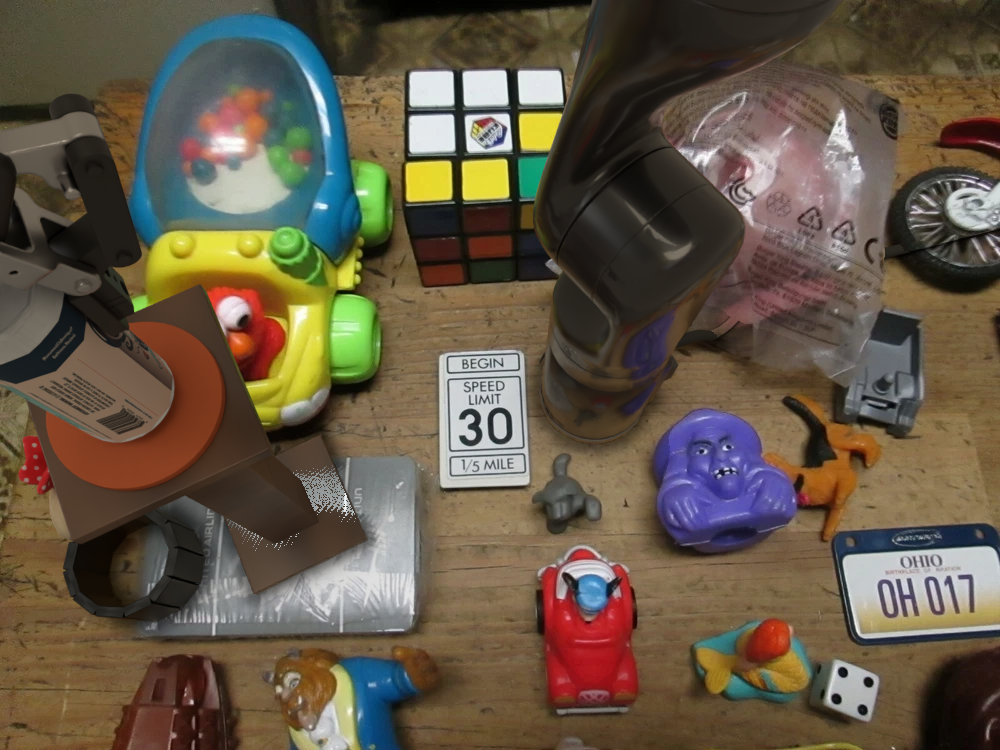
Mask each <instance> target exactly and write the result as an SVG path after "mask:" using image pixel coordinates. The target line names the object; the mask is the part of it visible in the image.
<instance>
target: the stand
mask: <svg viewBox="0 0 1000 750" xmlns="http://www.w3.org/2000/svg"><path fill="white" fill-rule="evenodd" d="M202 285H203V284H200V283H199V284H196V285H194V286H192V287H190V288H187V289H185V290H183V291H180V292H178V293H175V294H173V295H171V296H169V297H167V298H163V299H161V300H159V301H157V302H154V303H152V304H150V305H148V306H145V307H143V308H141V309H138V310H136V311H134V314H132V315H130V316H128V317H126V318H127V321H128V323H135V322H158V323H165V324H169V325H173V326H175V327H178V328H180V329H183V330H185V331H186V332H188V333H190V334H192V335H193V336H194V337H196V338H197V339H198V340H200V341H201V342H202V344H203V345H204V346H205V347H206V348H207V349H208V350H209V351H210V352H211V354H212V355H213V356H214V358H215V359H216V361H217V363H218V365H219V367H220V369H221V372H222V376H223V379H224V385H225V408H224V413H223V417H222V421H221V424H220V426H219V429H218V431H217V433H216V435H215V437H214V439H213V441H212V442H211V444H210V445H209V447H208V448H207V450H206V451H205V452H204V453H203V454H202V456H201V457H200V458H199V459H198V460H197V461H196V462H195V463H194V464H193V465H191V466H190V467H189V468H188V469H187V470H185V471H184V472H182V473H181V474H179V475H178V476H176V477H174V478H172V479H171V480H169V481H167V482H164V483H162V484H159V485H157V486H154V487H150V488H146V489H141V490H133V491H118V490H110V489H106V488H102V487H98V486H96V485H94V484H91V483H89V482H87V481H84V480H83V479H81V478H79V477H78V476H76V475H75V474H73V473H72V472H71V471H70V470H69V469H67V468H66V467H65V466H64V464H63V463H62V462H61V461H60V460H59V458H58V457H57V455H56V453H55V452H54V450H53V448H52V445H51V443H50V440H49V436H48V432H47V425H46V410H44V409H42V408H40V407H38V406H37V405H35V404H33V403H31V402H29V401H28V400H26V399H25V402H26V405H27V407H28V411H29V414H30V417H31V420H32V423H33V427H34V429H35V432H36V435H37V437H38V439H39V442H40V445H41V448H42V451H43V454H44V457H45V460H46V463H47V466H48V470H49V473H50V476H51V479H52V482H53V485H54V488H55V491H56V494H57V497H58V500H59V503H60V507H61V510H62V513H63V516H64V519H65V522H66V525H67V528H68V531H69V534H70V537H71V540H72V541H71V542H76V543H80V544H83V543H85V542H87V541H89V540H91V539H94V538H96V537H98V536H100V535H102V534H104V533H106V532H109V531H111V530H113V529H115V528H117V527H119V526H121V525H123V524H126V523H128V522H130V521H132V520H134V519H136V518H138V517H141V516H143V515H145V514H147V513H149V512H151V511H153V510H156V509H160V508H162V507H164V506H166V505H168V504H170V503H173V502H175V501H177V500H179V499H182V498H183V497H186V498H188V499H190V500H192V501H193V502H195V503H197V504H199V505H201V506H203V507H205V508H207V509H209V510H210V511H212V512H214V513H216V514H218V515H219V516H221V517H223V520H224V521H225V524H226V528H227V529H228V532H229V534H230V537H231V540H232V542H233V545H234V548H235V550H236V552H237V555H238V558H239V560H240V563H241V565H242V568H243V571H244V573H245V576H246V578H247V581H248V584H249V586H250V588H251V592H252V593H253V595H256V596H258V595H260V594H262V593H264V592H266V591H268V590H271V589H272V588H275V587H276V586H279V585H280V584H283V583H284V582H286V581H288V580H291V579H292V578H295V577H296V576H297V577H298V576H299V575H301V574H304V573H305V572H307V571H309V570H310V569H313V568H315V567H317V566H319V565H321V564H323V563H325V562H327V561H329V560H331V559H333V558H335V557H337V556H339V555H341V554H343V553H345V552H347V551H350V550H351V549H353V548H355V547H357V546H359V545H361V544H363V543H366V542H368V541H369V538H368V535H367V534H366V532H365V530H364V527H363V525H362V523H361V521H360V518H359V516H358V513H357V511H356V509H355V507H354V505H353V502H352V500H351V498H350V495H349V493H348V492H347V491H348V490H347V489H346V487H345V484H344V481H343V480H342V478H341V475H340V473H339V470H338V469H337V466H336V464H335V462H334V459H333V457H332V455H331V453H330V450H329V448H328V446H327V443H326V441H325V439H324V437H323V436H322V434H319V435H316V436H314V437H312V438H309V439H308V440H305V441H304V442H301V443H299V444H297V445H295V446H293V447H290V448H289V449H286V450H284V451H282V452H280V453H277V454H275V451H274V449H273V446H272V445H271V442H270V440H269V437H268V435H267V432H266V430H265V428H264V425H263V423H262V421H261V418H260V415H259V413H258V410H257V409H256V405H255V404H254V401H253V399H252V397H251V394H250V392H249V389H248V387H247V384H246V382H245V379H244V377H243V375H242V372H241V370H240V368H239V366H238V363H237V360H236V358H235V356H234V354H233V351H232V349H231V346H230V344H229V342H228V339H227V337H226V334H225V332H224V329H223V327H222V325H221V322H220V320H219V318H218V315H217V313H216V311H215V307H214V306H213V303H212V301H211V298H210V295H209V294H208V291H207V290H206V289H205V288H204V286H202ZM274 454H275V455H274ZM332 465H333V467H332ZM326 466H327V467H326ZM324 467H326V468H325V469H324ZM331 467H332V468H331ZM313 468H314V469H313ZM328 468H329V469H328ZM334 468H335V470H333V469H334ZM317 469H318V470H317ZM322 469H324V470H323V471H322ZM331 469H332V470H333V471H332V470H331ZM296 470H297V471H296ZM301 470H302V471H301ZM306 470H307V471H306ZM320 470H321V472H320ZM326 470H328V471H326ZM309 471H311V472H309ZM315 471H316V472H315ZM325 471H326V473H324V472H325ZM329 471H332V473H334V472H336V474H335V476H336V475H338V476H336V477H339V479H338V481H339V480H340V481H339V482H341V485H342V486H343V488H342V487H341V488H342V489H344V491H345V492H344V493H346V495H347V498H348V500H349V502H350V504H349V505H351V507H352V508H351V507H350V508H351V509H350V510H352V509H353V511H354V513H355V515H354V513H353V516H352V515H351V513H352V512H350V513H349V511H348V512H347V513H349V514H348V515H347V516H345V514H346V512H343V514H341V513H342V512H341V511H342V510H344V509H343V508H342V507H341V509H340V510H338V512H337V509H338V507H336V508H335V509H334V510H333V511H331V509H333V507H334V506H333V505H332V506H331V507H330V508H329V509H328V510H327V507H328V506H327V505H330V503H331V502H330V501H329V503H328V504H326V506H325V507H324V508H323V510H322V511H321V512H320V511H319V509H321V508H322V506H321V505H319V504H316V503H315V502H314V503H315V504H316V505H317V506H318V507H319V508H318V509H317V510H316V511H314V509H313V508H314V507H312V505H311V504H312V503H311V502H310V499H309V498H308V495H307V493H306V491H307V490H305V487H306V486H307V485H308V484H309V483H308V484H307V485H306V486H305V487H304V486H303V484H302V481H303V482H304V481H305V480H302V481H301V480H300V478H298V477H297V476H298V475H299V477H300V476H302V477H304V476H303V475H306V474H307V476H305V478H308V476H311V477H312V476H315V475H316V473H318V472H319V474H322V473H324V475H325V474H327V473H329ZM293 472H294V474H293ZM313 472H314V474H312V475H311V473H313ZM297 473H299V474H298V475H297V476H295V474H297ZM303 473H304V474H303ZM308 473H309V474H308ZM300 474H303V475H300ZM319 474H318V475H317V476H316V477H319V478H321V477H322V478H323V476H324V475H323V476H321V477H320V475H319ZM329 475H330V476H331V477H332V475H333V474H332V475H331V472H330V474H329ZM330 476H327V477H330ZM302 477H301V478H302ZM311 477H310V478H311ZM327 477H326V478H327ZM333 477H334V475H333ZM333 477H332V478H333ZM305 478H304V479H305ZM310 478H309V479H310ZM322 478H321V480H322ZM324 478H325V476H324ZM314 479H315V478H313V479H312V481H313V480H314ZM333 479H335V478H333ZM316 480H317V479H316ZM316 480H315V481H316ZM318 480H319V479H318ZM324 480H325V479H324ZM326 480H327V479H326ZM330 480H331V479H329V480H328V482H329V481H330ZM307 481H309V480H307ZM307 481H305V482H307ZM312 481H311V483H312ZM319 481H320V480H319ZM332 481H333V480H332ZM332 481H331V483H332ZM334 481H335V480H334ZM309 482H310V481H309ZM320 482H321V481H320ZM320 482H319V483H320ZM325 482H326V483H327V481H325ZM336 482H337V481H336ZM339 482H337V483H339ZM311 483H310V484H311ZM337 483H336V484H337ZM310 484H309V485H310ZM328 484H329V483H328ZM328 484H327V485H328ZM311 485H312V484H311ZM311 485H310V487H311V489H312V488H313V487H312V486H311ZM313 485H314V484H313ZM318 485H319V484H318ZM320 485H321V484H320ZM320 485H319V486H320ZM327 485H326V486H327ZM330 485H331V484H330ZM330 485H329V486H330ZM332 485H333V483H332ZM337 485H338V484H337ZM341 485H340V486H341ZM315 486H317V483H316V485H314V487H315ZM323 486H324V484H323ZM317 487H318V486H317ZM321 487H322V486H321ZM321 487H320V488H321ZM324 487H325V486H324ZM330 487H331V486H330ZM334 487H335V483H334ZM334 487H332V488H334ZM328 488H329V487H328ZM337 488H338V487H337ZM306 489H309V488H306ZM317 489H319V488H317ZM329 489H330V488H329ZM342 489H341V490H342ZM330 490H331V491H332V493H333V490H332V489H330ZM335 490H336V489H335ZM313 491H314V489H313ZM313 491H312V492H313ZM324 491H327V490H324ZM307 492H308V491H307ZM335 492H336V491H335ZM335 492H334V493H335ZM337 492H338V491H337ZM337 492H336V493H337ZM339 492H340V491H339ZM317 493H318V492H317ZM327 493H328V492H327ZM313 494H314V492H313ZM313 494H312V495H313ZM319 494H320V493H319ZM330 494H331V493H330ZM325 495H326V494H325ZM337 495H338V494H337ZM309 496H310V495H309ZM323 496H324V494H323ZM326 496H327V495H326ZM338 496H340V495H338ZM341 496H343V495H341ZM344 496H345V495H344ZM344 496H343V497H344ZM310 497H311V496H310ZM313 497H314V496H313ZM324 497H325V496H324ZM324 497H323V498H324ZM332 497H333V496H332ZM314 498H315V497H314ZM314 498H313V499H314ZM321 498H322V497H321ZM325 498H327V497H325ZM328 498H329V497H328ZM333 498H335V497H333ZM336 498H337V499H338V497H336ZM319 499H320V495H319ZM322 500H323V499H322ZM327 500H328V499H327ZM327 500H325V501H327ZM329 500H330V498H329ZM334 500H336V499H334ZM341 500H342V498H341ZM316 501H317V500H316ZM320 501H321V500H320ZM323 501H324V500H323ZM323 501H322V505H323V506H324V504H323V503H325V502H323ZM332 501H333V500H332ZM343 501H344V500H343ZM346 501H347V500H346ZM312 502H313V501H312ZM318 502H319V501H318ZM336 502H337V501H335V503H336ZM347 502H348V501H347ZM326 503H327V502H326ZM335 503H333V504H335ZM339 503H340V502H339ZM341 504H342V503H341ZM316 505H315V506H316ZM337 505H338V506H340V505H339V504H337ZM344 505H345V504H344ZM320 507H321V508H320ZM343 507H345V506H343ZM346 507H348V506H346ZM348 508H349V507H348ZM348 508H347V509H348ZM325 510H327V512H326V511H325ZM317 511H318V512H320V513H318V512H317ZM346 511H347V510H346ZM330 512H331V513H330ZM317 514H318V515H317ZM339 516H340V517H339ZM343 517H345V518H343ZM350 517H352V518H350ZM355 518H356V519H355ZM227 519H229V520H228V521H227ZM342 519H343V520H342ZM349 519H350V520H349ZM230 520H231V521H233V522H235V523H237V524H238V525H241V527H243V530H242V528H241V527H240V528H239V526H238V525H237V527H236V528H235V526H236V524H235V523H234V525H233V527H232V528H231V526H232V524H233V522H231V524H230V525H229V526H228V524H229V522H230ZM341 521H342V522H341ZM347 521H348V522H347ZM354 521H355V522H354ZM238 528H239V530H238ZM244 528H246V529H247V530H245V529H244ZM230 529H231V530H230ZM241 530H242V531H241ZM244 531H246V532H245V533H244ZM248 531H250V532H249V534H247V533H248ZM240 532H241V533H240ZM252 532H253V534H251V533H252ZM243 533H244V535H243ZM255 533H256V536H255V535H254V534H255ZM298 533H299V534H298ZM296 534H297V535H296ZM242 535H243V537H242ZM246 535H247V536H246ZM250 535H252V536H251V537H250ZM257 535H259V538H258V537H257ZM253 536H255V538H254V537H253ZM290 536H292V537H290ZM295 536H297V537H295ZM245 537H246V538H245ZM249 537H250V538H249ZM262 537H263V539H262V540H261V538H262ZM252 538H254V539H252ZM257 538H258V540H257ZM289 538H290V539H289ZM244 539H245V540H244ZM248 539H249V540H248ZM252 540H253V541H252ZM255 540H256V541H257V542H256V541H255ZM260 540H261V541H260ZM288 540H289V541H288ZM243 541H244V542H243ZM247 541H248V542H247ZM281 541H283V543H282V542H281ZM255 542H256V543H255ZM259 542H260V543H259ZM287 542H288V543H287ZM292 542H293V543H292ZM242 543H243V544H242ZM276 543H278V544H277V546H276V547H275V545H276ZM280 543H282V544H280ZM254 544H255V545H254ZM258 544H259V545H258ZM267 544H268V545H267ZM272 544H273V545H272ZM286 544H287V545H286ZM291 544H292V545H291ZM280 545H281V547H280ZM284 545H285V546H284ZM253 546H254V547H253ZM266 546H267V547H266ZM274 547H275V548H274ZM279 547H280V548H279ZM256 548H257V549H256ZM278 549H279V550H278ZM255 550H256V551H255Z"/></svg>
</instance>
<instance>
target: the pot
mask: <svg viewBox="0 0 1000 750" xmlns="http://www.w3.org/2000/svg"><path fill="white" fill-rule="evenodd" d="M150 525H151V526H159V527H160V529H161V532H162V535H163V538H164V541H165V543H166V546H167V548H168V551H167V554H166V555H167V556H166V562H165V567H164V572H163V575H162V576H161V578H160V579H159V580H158V581H157V582H156V584H155V585H154V587H153V588H152V589H151V591H150V592H149V593H148V594H147V595H145V596H143V597H141V598H139V599H137V600H135V601H133V602H131V603H129V604H127V605H126V604H124V603H123V602H122V601H121V600H119V599H118V598H116V597H115V593H114V590H113V587H112V584H111V582H110V578H109V573H110V568H111V563H112V559H113V554H114V553H115V551H116V550H117V549H118V548H119V546H120V545H121V544H122V543H123V542H124V540H125V539H126V538H127V537H128V535H130V534H132V533H134V532H137V531H138V530H141V529H143V528H145V527H148V526H150ZM195 531H196V530H194V529H193V528H192V527H190V526H189V525H188V524H186V523H185V522H184V521H182V520H181V519H180V518H178V517H176V516H174V515H173V514H170V513H167V512H165V511H163V510H161V509H160V508H158V509H156V510H153V511H151V512H149V513H147V514H145V515H143V516H141V517H138V518H136V519H134V520H132V521H130V522H128V523H126V524H123V525H121V526H119V527H117V528H115V529H113V530H111V531H109V532H106V533H104V534H102V535H100V536H98V537H96V538H94V539H91V540H89V541H87V542H85V543H83V544H80V543H76V542H73V541H68V543H67V548H66V552H65V557H64V561H63V565H62V570H63V571H62V575H63V577H64V581H65V584H66V587H67V591H68V593H69V596H70V598H72V600H73V602H75V603H76V604H77V605H79V606H80V607H81V608H82V609H83V610H85V611H86V612H88V613H89V614H90V615H92V616H95V617H98V618H105V619H114V620H121V621H133V622H147V623H153V622H159V621H161V620H163V619H165V618H167V617H168V616H169V617H170V616H171V615H173V614H175V613H177V612H178V611H181V610H182V609H181V608H184V607H185V606H186V605H187V603H188V602H189V601H190V599H191V598H192V597H193V596H194V594H195V593H196V592H197V590H198V589H199V587H200V585H199V584H202V580H203V573H204V567H205V562H206V557H205V556H206V553H205V551H204V549H203V547H202V543H201V540H200V537H199V535H198V533H197V532H195Z"/></svg>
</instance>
